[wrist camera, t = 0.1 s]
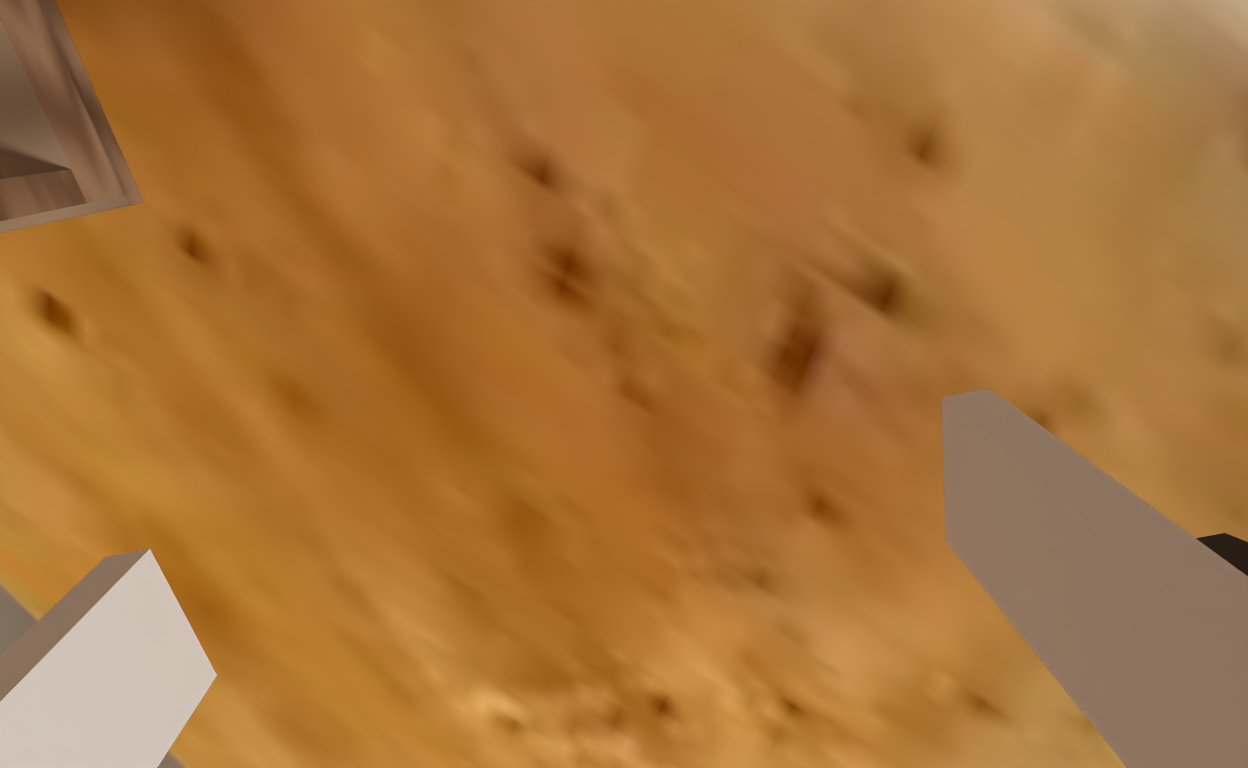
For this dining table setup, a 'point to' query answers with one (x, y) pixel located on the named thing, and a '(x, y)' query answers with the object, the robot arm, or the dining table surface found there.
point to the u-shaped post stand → (52, 125)
